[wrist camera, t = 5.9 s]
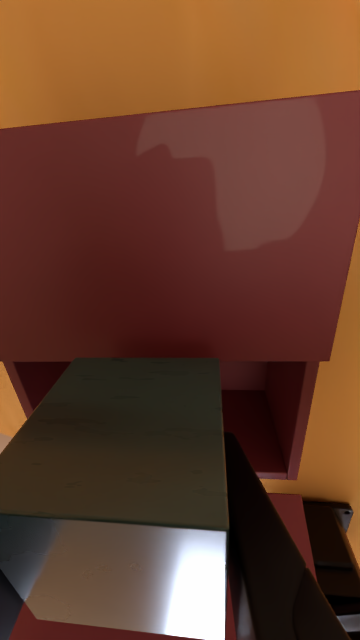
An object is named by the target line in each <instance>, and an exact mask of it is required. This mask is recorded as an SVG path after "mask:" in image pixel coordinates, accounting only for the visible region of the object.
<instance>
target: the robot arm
mask: <svg viewBox="0 0 360 640" xmlns="http://www.w3.org/2000/svg"><path fill="white" fill-rule="evenodd" d="M224 445H225V461H226V478H227V495H228V511H229V555H228V579H229V586H230V594H231V601H232V609H233V616H234V624H235V631H236V639H237V640H360V569H359V566H358V563H357V561H356V558H355V556H354V553H353V551H352V548H351V546H350V543H349V541H348V538H347V536H346V531H347V529H348V526H349V523H350V520H351V518H352V515H353V510H352V508H351V506H350V505H347V504H332V503H315V502H302V503H303V508H304V514H305V519H306V525H307V530H308V535H309V541H310V546H311V551H312V557H313V562H314V567H315V573H316V578H317V581H316V580H315V578H314V576H313V574H312V572H311V571H310V569H309V568H306V562H305V560H304V558H303V557H302V555H301V553H300V551H299V549H298V548H297V546H296V544H295V542H294V540H293V539H292V537H291V535H290V533H289V532H288V530H287V528H286V526H285V524H284V523H283V521H282V519H281V517H280V515H279V514H278V512H277V510H276V508H275V506H274V505H273V503H272V501H271V499H270V497H269V496H268V494H267V492H266V490H265V488H264V487H263V485H262V483H261V481H260V480H259V478H258V476H257V474H256V472H255V471H254V469H253V467H252V465H251V463H250V462H249V460H248V458H247V456H246V454H245V453H244V451H243V449H242V447H241V445H240V444H239V442H238V440H237V438H236V436H235V435H234V433H233V432H224ZM23 604H24V601H23V599H22V598H21V597H20V595H19V594H18V592H17V591H16V590H15V588H14V587H13V585H12V584H11V583H10V581H9V580H8V579H7V577H6V576H5V574H4V573H3V572H2V570H1V569H0V640H9V638H10V635H11V633H12V630H13V628H14V625H15V623H16V621H17V618H18V616H19V613H20V611H21V608H22V606H23Z"/></svg>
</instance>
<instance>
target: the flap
mask: <svg viewBox="0 0 360 640" xmlns="http://www.w3.org/2000/svg"><path fill="white" fill-rule="evenodd" d="M267 494H268V496H269V497H270V499H271V501H272V503H273V505H274V506H275V508H276V510H277V512H278V514H279V515H280V517H281V519H282V521H283V523H284V524H285V526H286V528H287V530H288V532H289V533H290V535H291V537H292V539H293V540H294V542H295V544H296V546H297V548H298V549H299V551H300V553H301V555H302V557H303V558H304V560H305V562H306V568H309V569H310V571H311V572H312V574H313V576H314V578H315V580H316V581H317V578H316V573H315V567H314V562H313V557H312V551H311V546H310V541H309V535H308V530H307V525H306V519H305V514H304V508H303V503H302V498H301V495H297V494H278V493H267ZM9 640H207V639H199V638H190V637H182V636H173V635H165V634H157V633H148V632H140V631H132V630H123V629H115V628H106V627H98V626H90V625H81V624H73V623H65V622H56V621H48V620H39V619H36V617H35V616H34V615H33V613H32V612H31V610H30V609H29V608H28V606H27V605H26V603H25V602H24V604H23V606H22V608H21V611H20V613H19V616H18V618H17V621H16V623H15V625H14V628H13V630H12V633H11V635H10V638H9ZM225 640H237V639H236V631H235V624H234V616H233V609H232V601H231V594H230V586H229V579H228V585H227V614H226V638H225Z"/></svg>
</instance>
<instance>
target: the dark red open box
mask: <svg viewBox="0 0 360 640" xmlns="http://www.w3.org/2000/svg"><path fill="white" fill-rule="evenodd" d="M359 218H360V90H356V91H347V92H337V93H328V94H319V95H310V96H300V97H291V98H282V99H273V100H263V101H254V102H245V103H236V104H226V105H217V106H208V107H199V108H189V109H180V110H171V111H162V112H152V113H143V114H134V115H125V116H115V117H106V118H97V119H88V120H78V121H69V122H60V123H51V124H41V125H32V126H23V127H14V128H4V129H0V361H3V363H4V366H5V368H6V371H7V373H8V375H9V378H10V380H11V382H12V385H13V387H14V389H15V392H16V394H17V396H18V399H19V401H20V403H21V406H22V408H23V410H24V413H25V415H26V417H27V419H28V418H29V416H30V415H31V414H32V413H33V411H34V410H35V409H36V407H37V406H38V405H39V404H40V402H41V401H42V400H43V398H44V397H45V396H46V395H47V393H48V392H49V391H50V389H51V388H52V387H53V385H54V384H55V383H56V382H57V380H58V379H59V378H60V376H61V375H62V374H63V373H64V371H65V370H66V369H67V367H68V366H69V365H70V364H71V362H72V361H73V360H74V358H219V362H220V378H221V395H222V411H223V428H224V432H233V433H234V435H235V436H236V438H237V440H238V442H239V444H240V445H241V447H242V449H243V451H244V453H245V454H246V456H247V458H248V460H249V462H250V463H251V465H252V467H253V469H254V471H255V472H256V474H257V476H258V478H261V479H282V480H286V479H287V480H297V476H298V471H299V466H300V461H301V455H302V450H303V445H304V440H305V435H306V429H307V424H308V419H309V414H310V408H311V403H312V398H313V393H314V388H315V382H316V377H317V372H318V367H319V362H320V361H330V356H331V351H332V346H333V342H334V337H335V332H336V327H337V323H338V318H339V313H340V308H341V304H342V299H343V294H344V289H345V285H346V280H347V275H348V270H349V266H350V261H351V256H352V251H353V247H354V242H355V237H356V233H357V228H358V223H359Z"/></svg>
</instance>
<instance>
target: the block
mask: <svg viewBox="0 0 360 640" xmlns="http://www.w3.org/2000/svg"><path fill="white" fill-rule="evenodd" d="M228 555H229V511H228V495H227V478H226V461H225V445H224V428H223V411H222V395H221V378H220V362H219V358H74V360H73V361H72V362H71V364H70V365H69V366H68V367H67V369H66V370H65V371H64V373H63V374H62V375H61V376H60V378H59V379H58V380H57V382H56V383H55V384H54V385H53V387H52V388H51V389H50V391H49V392H48V393H47V395H46V396H45V397H44V398H43V400H42V401H41V402H40V404H39V405H38V406H37V407H36V409H35V410H34V411H33V413H32V414H31V415H30V416H29V418H28V419H27V420H26V422H25V423H24V424H23V425H22V427H21V428H20V429H19V431H18V432H17V433H16V435H15V436H14V437H13V438H12V440H11V441H10V442H9V444H8V445H7V446H6V448H5V449H4V450H3V451H2V453H1V454H0V569H1V570H2V572H3V573H4V574H5V576H6V577H7V579H8V580H9V581H10V583H11V584H12V585H13V587H14V588H15V590H16V591H17V592H18V594H19V595H20V597H21V598H22V599H23V601H24V602H25V603H26V605H27V606H28V608H29V609H30V610H31V612H32V613H33V615H34V616H35V617H36V619H39V620H48V621H56V622H65V623H73V624H81V625H90V626H98V627H106V628H115V629H123V630H132V631H140V632H148V633H157V634H165V635H173V636H182V637H190V638H199V639H207V640H225V638H226V614H227V585H228Z"/></svg>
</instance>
